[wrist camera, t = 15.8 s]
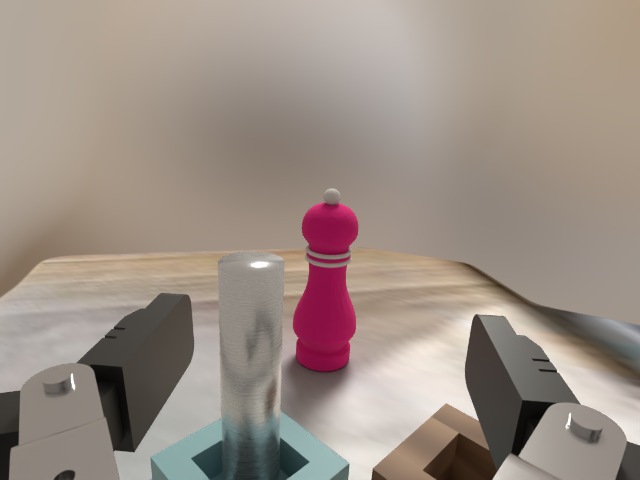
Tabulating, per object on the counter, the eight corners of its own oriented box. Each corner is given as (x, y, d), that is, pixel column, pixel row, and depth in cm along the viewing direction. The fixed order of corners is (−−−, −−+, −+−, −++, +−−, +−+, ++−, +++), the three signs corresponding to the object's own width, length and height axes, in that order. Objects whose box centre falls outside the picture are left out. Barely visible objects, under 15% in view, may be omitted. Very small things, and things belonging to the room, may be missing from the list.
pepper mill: (311, 334, 56) (318, 179, 50) (362, 351, 53) (377, 188, 47) (279, 361, 50) (284, 189, 44) (336, 382, 47) (349, 199, 41)
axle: (255, 463, 35) (257, 247, 29) (289, 494, 32) (297, 263, 27) (212, 492, 32) (205, 260, 27) (245, 529, 29) (244, 279, 24)
